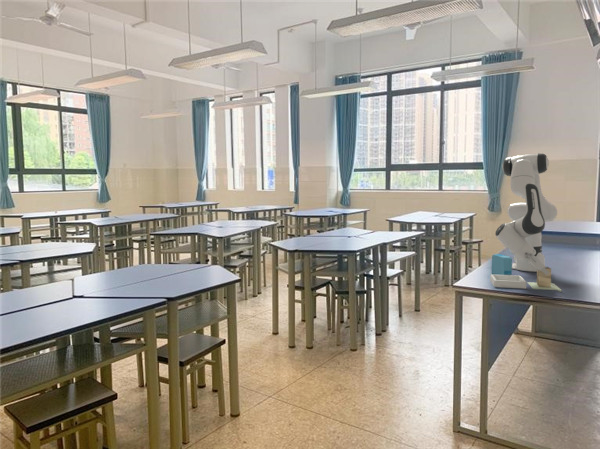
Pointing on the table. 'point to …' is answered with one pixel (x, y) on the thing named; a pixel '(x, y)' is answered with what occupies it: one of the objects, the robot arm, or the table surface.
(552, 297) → the table surface
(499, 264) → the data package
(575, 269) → the table surface
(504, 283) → the bin
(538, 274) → the part box
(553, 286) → the pad
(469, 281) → the table surface
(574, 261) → the table surface
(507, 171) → the robot arm
